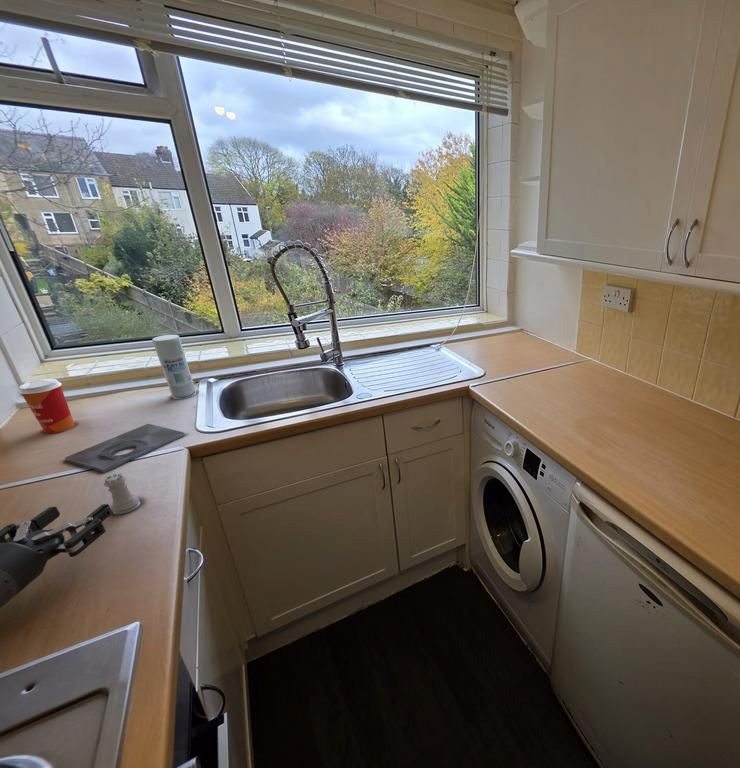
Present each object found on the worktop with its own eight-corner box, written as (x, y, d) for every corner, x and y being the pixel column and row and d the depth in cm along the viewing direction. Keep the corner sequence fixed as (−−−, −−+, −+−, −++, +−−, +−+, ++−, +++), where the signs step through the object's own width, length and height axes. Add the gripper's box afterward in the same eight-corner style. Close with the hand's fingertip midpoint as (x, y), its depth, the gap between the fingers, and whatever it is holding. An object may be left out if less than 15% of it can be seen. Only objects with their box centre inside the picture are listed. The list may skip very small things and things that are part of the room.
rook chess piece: (107, 513, 81) (92, 480, 78) (133, 500, 85) (120, 468, 82) (121, 519, 80) (106, 486, 77) (147, 505, 84) (133, 473, 81)
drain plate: (105, 474, 93) (102, 469, 93) (67, 462, 97) (64, 457, 97) (185, 437, 109) (183, 432, 108) (149, 428, 113) (147, 423, 112)
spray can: (195, 390, 136) (177, 333, 128) (199, 396, 132) (180, 337, 124) (171, 396, 132) (150, 337, 124) (174, 402, 128) (153, 341, 120)
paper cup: (37, 431, 110) (13, 384, 105) (76, 420, 116) (55, 375, 111) (43, 440, 106) (19, 391, 101) (84, 428, 112) (62, 382, 106)
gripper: (28, 561, 57) (117, 490, 72) (-87, 569, 56) (28, 494, 71) (51, 599, 60) (132, 522, 75) (-58, 607, 59) (47, 527, 74)
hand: (82, 509), depth 73 cm, fingers open, 8 cm apart
